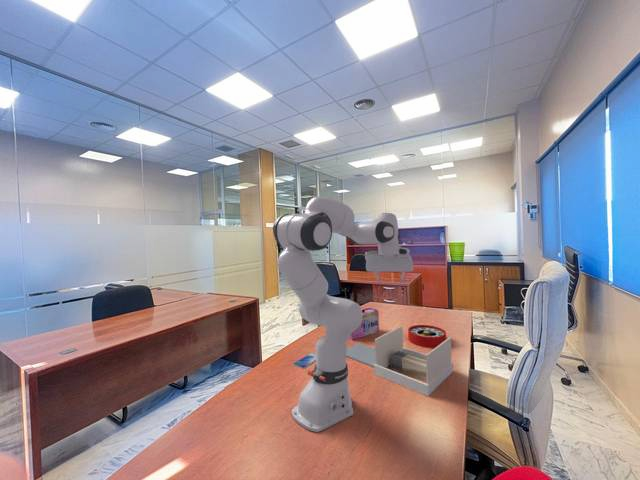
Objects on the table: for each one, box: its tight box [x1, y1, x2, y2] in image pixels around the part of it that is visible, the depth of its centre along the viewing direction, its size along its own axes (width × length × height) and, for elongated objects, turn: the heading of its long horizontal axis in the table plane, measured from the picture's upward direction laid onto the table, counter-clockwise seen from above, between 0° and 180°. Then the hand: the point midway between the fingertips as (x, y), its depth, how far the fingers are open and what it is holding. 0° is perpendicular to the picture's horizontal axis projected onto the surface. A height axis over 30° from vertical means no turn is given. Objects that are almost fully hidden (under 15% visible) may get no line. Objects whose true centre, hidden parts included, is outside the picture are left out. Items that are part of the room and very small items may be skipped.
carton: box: [373, 325, 454, 397], centre depth 116 cm, size 25×24×15 cm
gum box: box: [348, 307, 380, 340], centre depth 164 cm, size 24×8×14 cm, turn 124°
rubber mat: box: [346, 342, 375, 368], centre depth 134 cm, size 16×24×1 cm, turn 44°
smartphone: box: [292, 352, 316, 369], centre depth 131 cm, size 7×1×15 cm
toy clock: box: [407, 324, 447, 349], centre depth 150 cm, size 20×6×20 cm
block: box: [390, 351, 427, 382], centre depth 116 cm, size 6×18×6 cm, turn 44°
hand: (389, 281), depth 116 cm, fingers open, 8 cm apart
